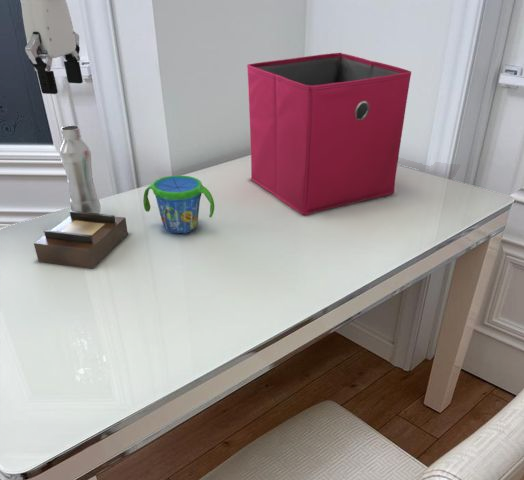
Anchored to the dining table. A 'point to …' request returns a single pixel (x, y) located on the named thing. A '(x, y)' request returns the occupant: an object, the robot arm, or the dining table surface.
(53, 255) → the brown wooden base
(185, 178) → the snack cup
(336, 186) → the storage bin
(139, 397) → the dining table surface
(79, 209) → the silver metal bottle
